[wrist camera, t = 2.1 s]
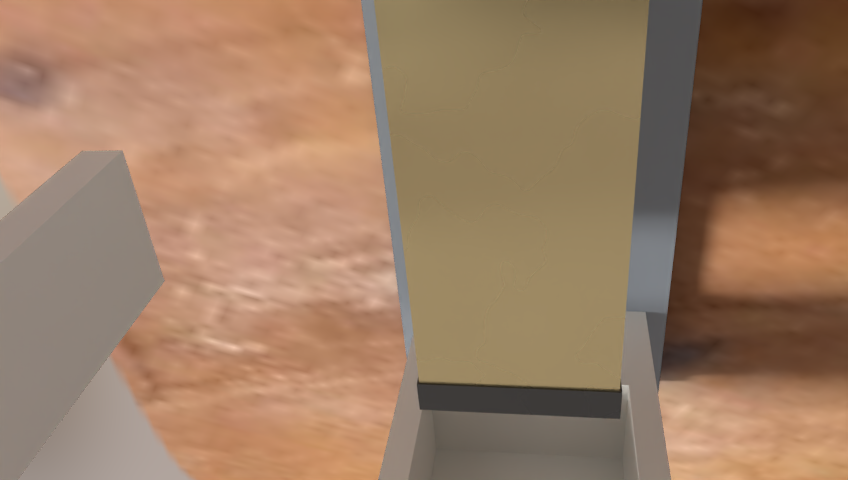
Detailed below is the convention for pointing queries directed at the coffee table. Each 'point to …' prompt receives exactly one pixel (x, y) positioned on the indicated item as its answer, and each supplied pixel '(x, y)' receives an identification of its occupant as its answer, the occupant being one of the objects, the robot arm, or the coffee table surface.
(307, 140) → the coffee table surface
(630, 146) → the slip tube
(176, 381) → the coffee table surface
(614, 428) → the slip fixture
